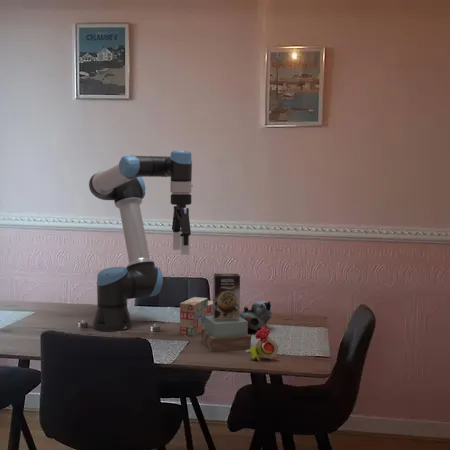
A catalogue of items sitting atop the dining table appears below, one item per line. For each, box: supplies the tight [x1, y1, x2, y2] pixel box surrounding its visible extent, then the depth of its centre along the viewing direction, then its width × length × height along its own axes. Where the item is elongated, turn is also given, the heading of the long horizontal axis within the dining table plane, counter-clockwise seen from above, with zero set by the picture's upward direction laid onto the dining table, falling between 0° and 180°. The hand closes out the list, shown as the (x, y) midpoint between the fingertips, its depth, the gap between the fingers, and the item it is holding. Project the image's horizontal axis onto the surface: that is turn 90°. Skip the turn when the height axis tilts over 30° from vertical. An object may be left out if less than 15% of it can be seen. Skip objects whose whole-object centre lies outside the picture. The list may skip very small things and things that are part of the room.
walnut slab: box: [201, 329, 252, 353], centre depth 218 cm, size 14×14×5 cm
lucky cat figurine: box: [239, 300, 273, 332], centre depth 240 cm, size 15×12×14 cm
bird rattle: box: [249, 326, 279, 361], centre depth 202 cm, size 6×11×9 cm
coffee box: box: [212, 273, 241, 321], centre depth 217 cm, size 9×6×16 cm
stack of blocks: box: [179, 296, 213, 337], centre depth 241 cm, size 21×6×12 cm, turn 156°
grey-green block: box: [204, 316, 249, 338], centre depth 218 cm, size 12×12×5 cm
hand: (180, 252), depth 221 cm, fingers open, 13 cm apart
